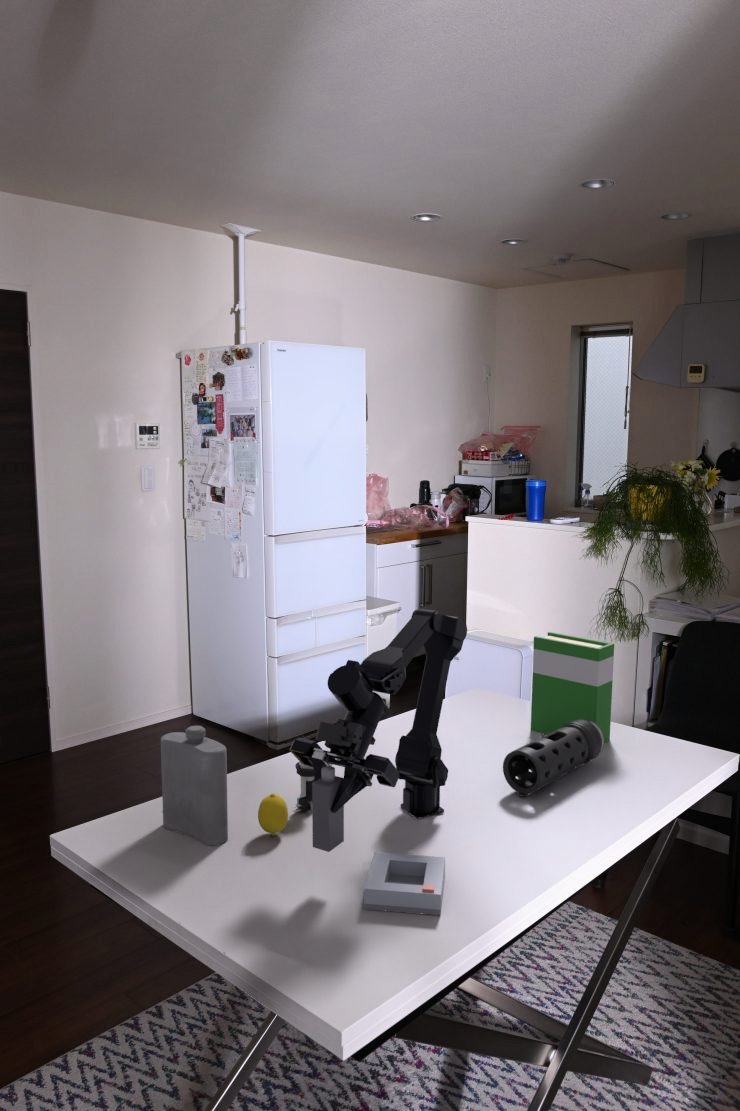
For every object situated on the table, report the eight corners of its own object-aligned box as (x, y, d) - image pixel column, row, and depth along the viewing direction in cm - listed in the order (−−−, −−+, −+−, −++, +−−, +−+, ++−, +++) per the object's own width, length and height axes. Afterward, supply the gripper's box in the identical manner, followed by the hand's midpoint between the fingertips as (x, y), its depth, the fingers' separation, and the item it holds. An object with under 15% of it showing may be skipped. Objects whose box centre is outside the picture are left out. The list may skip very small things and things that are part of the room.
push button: (301, 818, 169) (300, 769, 167) (284, 809, 173) (284, 761, 171) (328, 809, 173) (328, 760, 172) (311, 800, 177) (311, 753, 176)
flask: (236, 836, 161) (235, 732, 158) (213, 849, 157) (211, 741, 154) (181, 815, 170) (178, 716, 167) (157, 826, 165) (154, 724, 162)
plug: (327, 836, 147) (327, 762, 145) (343, 841, 145) (343, 766, 143) (312, 847, 143) (312, 771, 141) (328, 852, 141) (328, 775, 140)
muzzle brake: (500, 792, 182) (501, 744, 181) (567, 755, 203) (569, 712, 201) (540, 805, 176) (542, 756, 175) (605, 766, 197) (608, 721, 195)
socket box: (374, 871, 149) (374, 849, 148) (444, 876, 147) (445, 855, 147) (363, 909, 137) (364, 886, 137) (440, 915, 136) (441, 892, 135)
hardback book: (530, 730, 219) (533, 636, 216) (546, 723, 225) (549, 631, 221) (594, 748, 207) (599, 649, 204) (609, 740, 213) (614, 643, 209)
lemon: (275, 844, 158) (275, 802, 157) (252, 836, 161) (251, 795, 160) (294, 832, 163) (294, 791, 162) (270, 825, 166) (270, 785, 165)
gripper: (295, 691, 149) (255, 775, 141) (390, 710, 139) (353, 801, 132) (321, 723, 157) (285, 804, 149) (413, 743, 147) (379, 830, 139)
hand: (323, 809), depth 142 cm, fingers closed on plug, 3 cm apart
